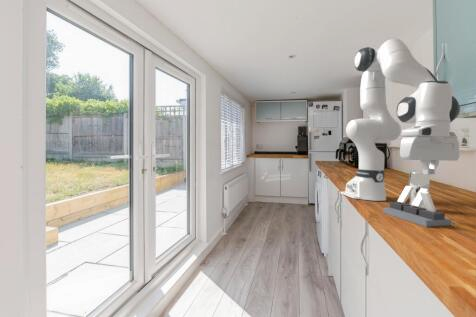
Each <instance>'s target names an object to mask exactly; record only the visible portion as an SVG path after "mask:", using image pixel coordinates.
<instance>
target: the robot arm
mask: <svg viewBox="0 0 476 317" xmlns="http://www.w3.org/2000/svg"><path fill="white" fill-rule="evenodd" d="M354 68H355V69H356V71H359V72H363V73H362V75H361V79H360V86H359V100H360V101H359V108H360V109H361V110H362V111H363V112H364V113H366V114H367V115H368V117H369V118H355V119H352V120H350V121H348V123H347V125H346V127H345V134H346V136H347V137H348V139H350V140H351V141H352V142H353V144H354V145H355V147H356V150H357V152H358V153H357V154H358V169H355V170H354V172H355V176H354V177H352V178H351V179H350V180H349V181H347V182H346V184H345V190H342V191H340V194H341V195H344V196H347V197H349V198H351V199H353V200H356V199H357V200H364V201H376V202H377V201H379V202H381V201H382V202H385V201H387V195H386V184H385V180H384V179H385V178H386V176H385V175H386V173H385V172H386V171H385V153H384V152H383V151H381V150H380V149H379V148H377V146H376V142H381V143H386V142H391V141H395V140H397V139H398V138H399V136H400V135H401V136H402V138H401V140H400V146H399V156H400V159H401V160H406V161H419V164H420V166H421V168H422V172H423V174H426V175H429V176H430V175H431V176H432V175H433V176H434V175H435V174H436V169H437V168H438V166H439V164H440V161H452V162H453V161H455V162H457V161H458V159H460V141H459V140H458V136H457V135H456V134H455V133H454V132H452V131H451V132H450V130H451V123H452V122H453V121H454V120H456V119H457V117H458V116H459V114H460V112H461V106H460V103H459V101H458V100H457V99H456V97H455V96H453V90H452V85H451V83H450V82H449V81H446V80H438V79H437V77H436V76H435V75H434V73H432V71H431V70H429V68H427V67H425V66H424V65H422V64H421V63H420V62H419V61H418V60H416V58H415V57H414V56H413V55H412V53H411V50H410V48H408V46H407V45H406V43H405V42H403V40H401V39H399V38H391V39H388V40H385V42H383V43H382V44H380V46H373V47H372V46H371V47H369V46H368V47H362V48H360V49H359V50H358V51H357V52H356V54H355V57H354ZM386 79H387V81H390V82H392V83H395V84H399V85H406V86H410V87H413V88H416V91H414V92H413V93H411V94H410V95H409V96H405V97H404V98H402V99H401V100H400V101H399V103H397V107H396V117H397V119H398V120H399V121H400V122H401V123H405V124H414V125H413V126H411V127H407V128H405V129H402V127H401V124H400V123H399V122H398V121H397V120H396V119H395V118H394V117H393V116H392V115H391V114H390V111H389V109H388V105H387V97H386V96H387V94H386V93H387V92H386Z"/></svg>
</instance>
